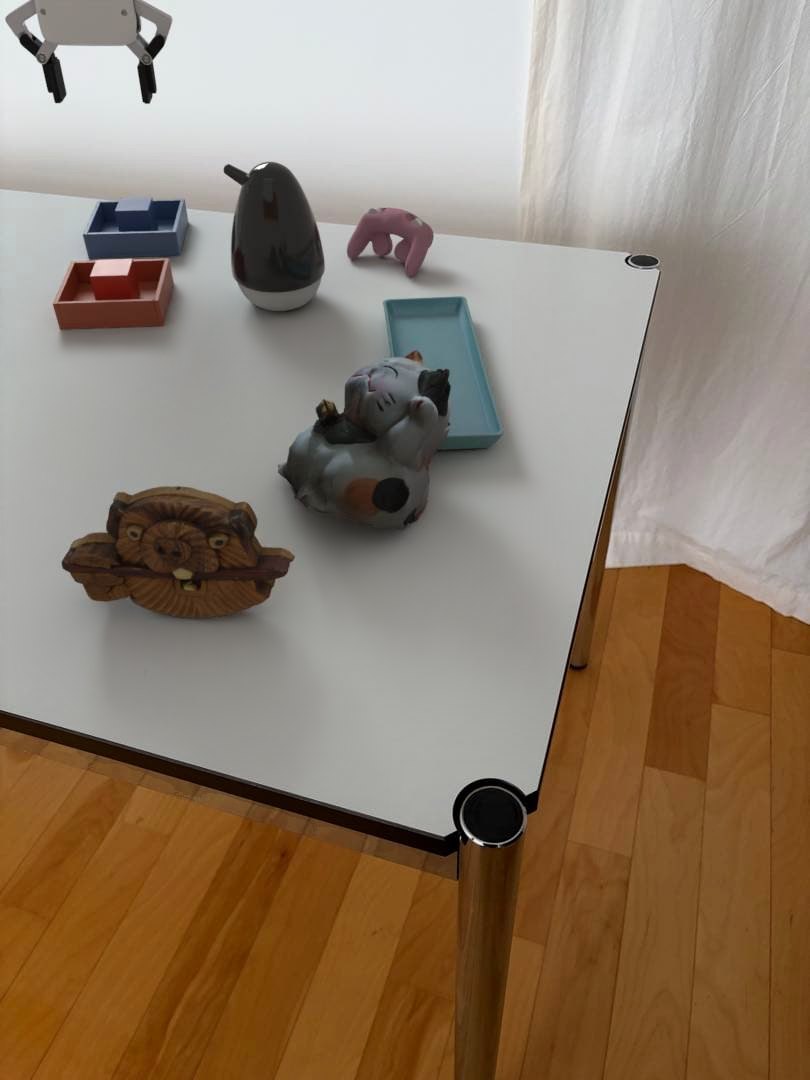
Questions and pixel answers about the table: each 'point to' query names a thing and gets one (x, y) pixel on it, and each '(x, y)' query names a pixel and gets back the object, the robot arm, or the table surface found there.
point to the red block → (114, 280)
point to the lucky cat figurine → (374, 445)
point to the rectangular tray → (448, 363)
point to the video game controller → (378, 231)
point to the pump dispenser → (274, 239)
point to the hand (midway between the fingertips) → (104, 99)
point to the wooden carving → (178, 554)
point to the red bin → (85, 312)
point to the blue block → (136, 215)
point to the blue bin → (112, 243)
